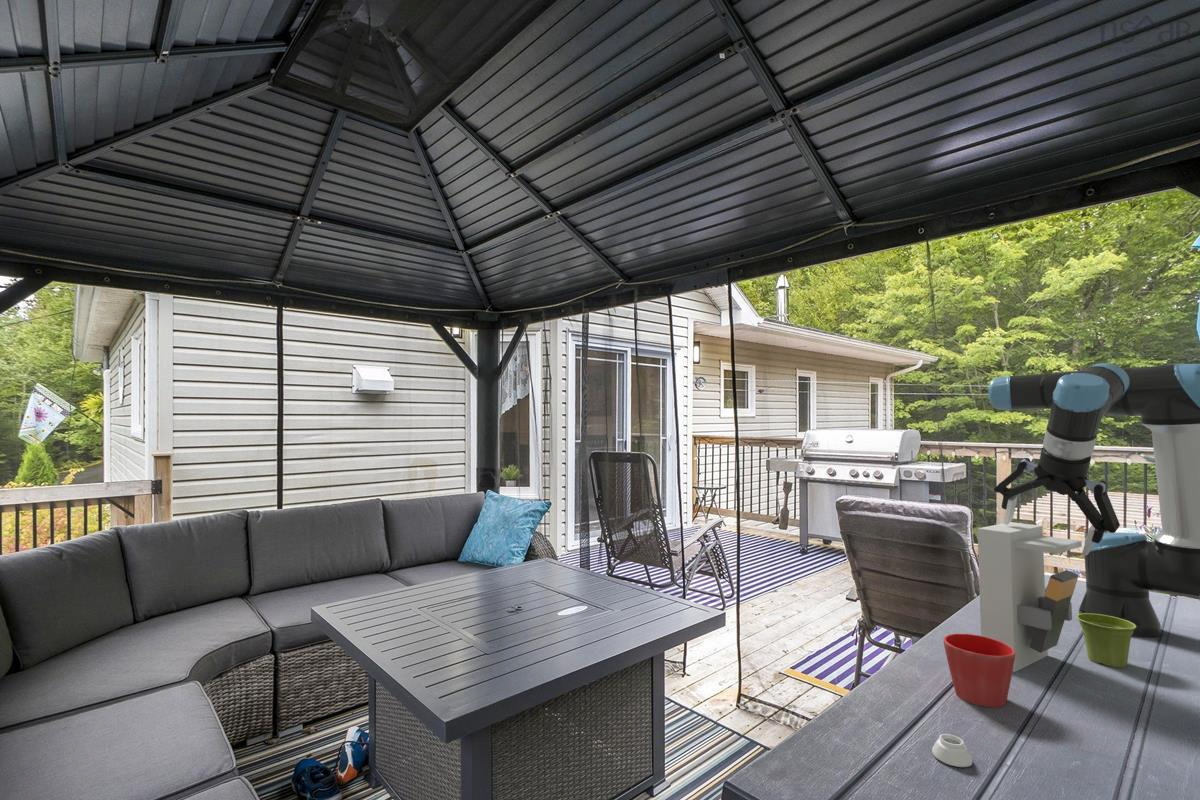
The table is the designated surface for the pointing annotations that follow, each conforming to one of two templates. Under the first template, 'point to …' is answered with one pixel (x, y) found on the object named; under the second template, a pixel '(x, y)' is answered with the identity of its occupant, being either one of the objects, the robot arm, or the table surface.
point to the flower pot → (980, 668)
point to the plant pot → (1106, 638)
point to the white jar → (952, 751)
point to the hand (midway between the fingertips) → (1045, 536)
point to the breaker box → (1016, 585)
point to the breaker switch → (1055, 609)
